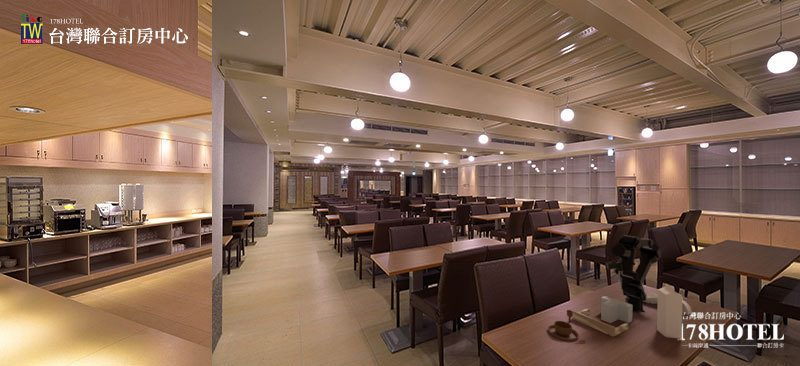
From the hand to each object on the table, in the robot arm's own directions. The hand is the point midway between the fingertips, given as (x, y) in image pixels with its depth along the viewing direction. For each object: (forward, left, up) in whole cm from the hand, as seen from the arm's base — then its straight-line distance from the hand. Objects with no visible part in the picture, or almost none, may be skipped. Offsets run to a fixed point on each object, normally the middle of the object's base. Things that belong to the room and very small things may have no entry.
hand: (622, 289), depth 146 cm
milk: (-11, +17, -13) cm, 24 cm away
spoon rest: (-25, -18, -13) cm, 34 cm away
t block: (+7, +7, -13) cm, 16 cm away
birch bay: (+15, +15, -13) cm, 25 cm away
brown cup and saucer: (+32, +28, -13) cm, 44 cm away
